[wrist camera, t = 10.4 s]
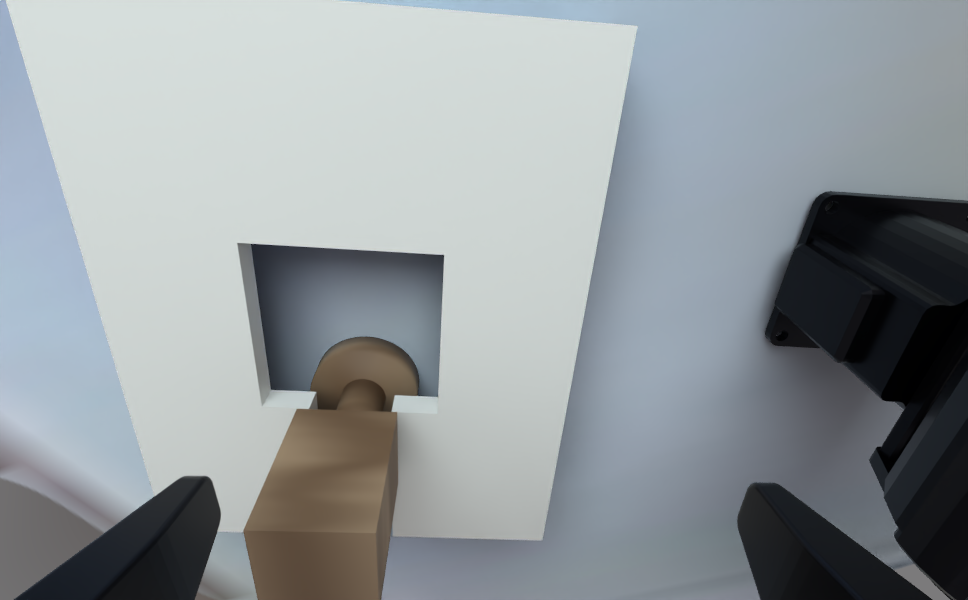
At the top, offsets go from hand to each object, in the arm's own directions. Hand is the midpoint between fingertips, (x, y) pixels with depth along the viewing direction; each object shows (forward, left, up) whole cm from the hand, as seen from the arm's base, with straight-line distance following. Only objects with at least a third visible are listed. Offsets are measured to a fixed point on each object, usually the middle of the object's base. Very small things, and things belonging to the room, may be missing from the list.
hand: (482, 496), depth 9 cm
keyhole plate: (+4, +3, -13) cm, 14 cm away
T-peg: (+4, +7, -13) cm, 15 cm away
